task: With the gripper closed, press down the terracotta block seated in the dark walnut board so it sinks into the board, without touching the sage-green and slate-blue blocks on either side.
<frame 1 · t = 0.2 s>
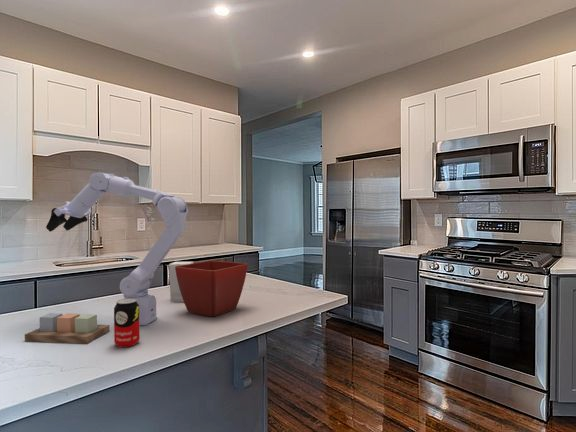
hand: (57, 228, 120), 31 cm above the countertop, fingers open, 7 cm apart
sage block: (86, 323, 104), point 4 cm above the countertop, slide at 0.0 cm
plant pot: (212, 311, 130), on the countertop
board: (68, 336, 104), on the countertop
beverage can: (127, 344, 98), on the countertop
skincare box: (182, 300, 145), on the countertop
slate block: (51, 322, 105), point 4 cm above the countertop, slide at 0.0 cm
terracotta block: (68, 323, 104), point 4 cm above the countertop, slide at 0.0 cm
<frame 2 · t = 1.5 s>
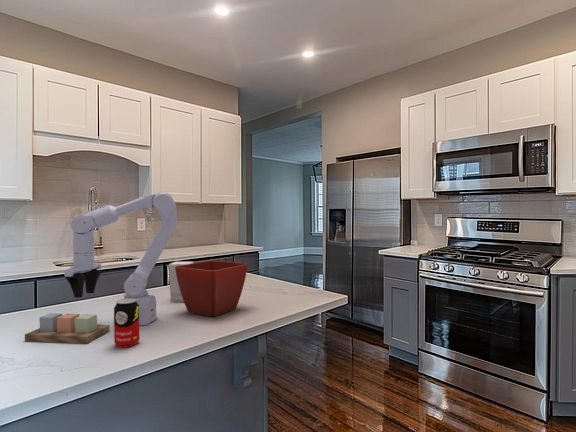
hand: (84, 295, 113), 10 cm above the countertop, fingers open, 5 cm apart
nothing on the countertop moved.
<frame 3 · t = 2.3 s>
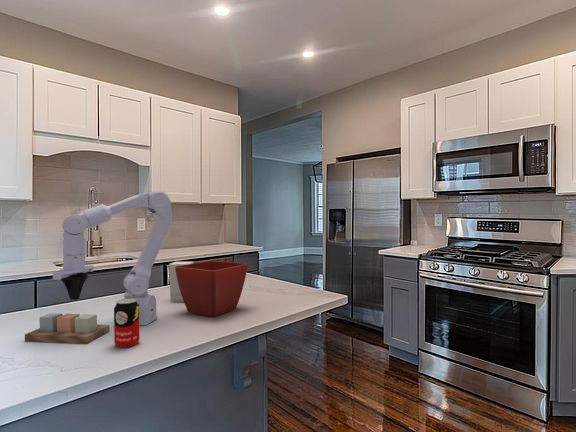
hand: (74, 299, 108), 10 cm above the countertop, fingers closed
nothing on the countertop moved.
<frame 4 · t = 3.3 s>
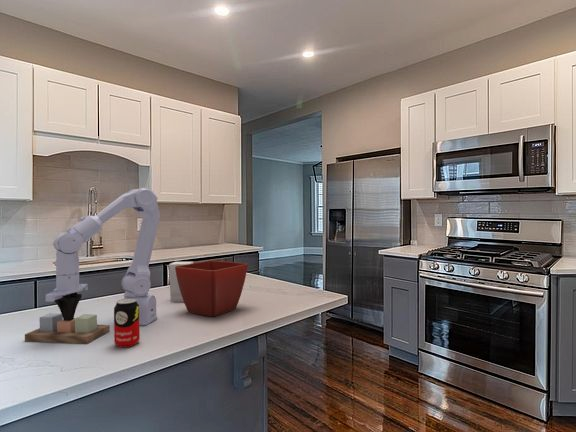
hand: (68, 320, 104), 5 cm above the countertop, fingers closed, pressing on terracotta block
terracotta block: (68, 327, 104), point 3 cm above the countertop, slide at 1.2 cm, touching gripper
everything else where it was.
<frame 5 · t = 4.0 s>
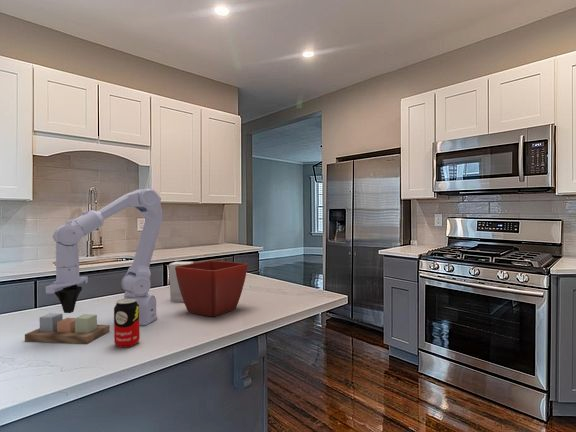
hand: (68, 312, 104), 7 cm above the countertop, fingers closed
terracotta block: (68, 327, 104), point 3 cm above the countertop, slide at 1.2 cm
everything else where it was.
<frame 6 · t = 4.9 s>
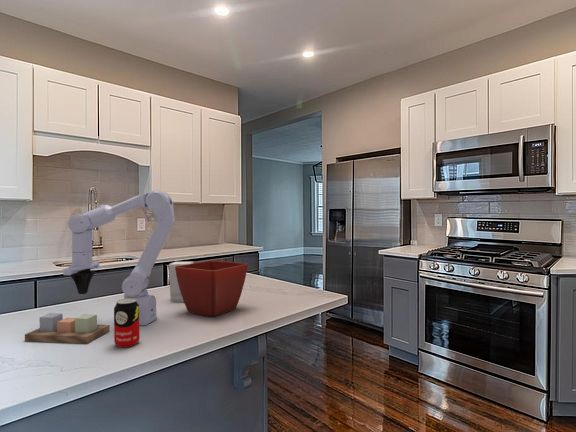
hand: (82, 293, 115), 10 cm above the countertop, fingers closed
nothing on the countertop moved.
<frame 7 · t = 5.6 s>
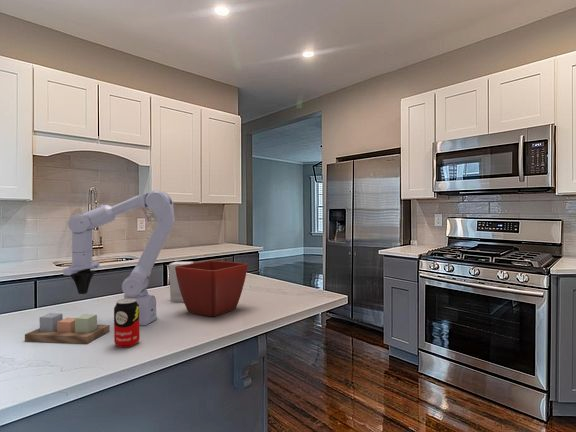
hand: (82, 293, 115), 10 cm above the countertop, fingers closed
nothing on the countertop moved.
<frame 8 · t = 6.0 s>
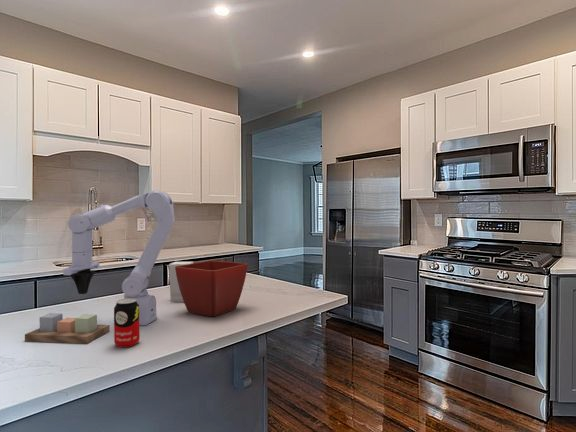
hand: (82, 293, 115), 10 cm above the countertop, fingers closed
nothing on the countertop moved.
at the end: terracotta block slide at 1.2 cm; sage block slide at 0.0 cm; slate block slide at 0.0 cm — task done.
